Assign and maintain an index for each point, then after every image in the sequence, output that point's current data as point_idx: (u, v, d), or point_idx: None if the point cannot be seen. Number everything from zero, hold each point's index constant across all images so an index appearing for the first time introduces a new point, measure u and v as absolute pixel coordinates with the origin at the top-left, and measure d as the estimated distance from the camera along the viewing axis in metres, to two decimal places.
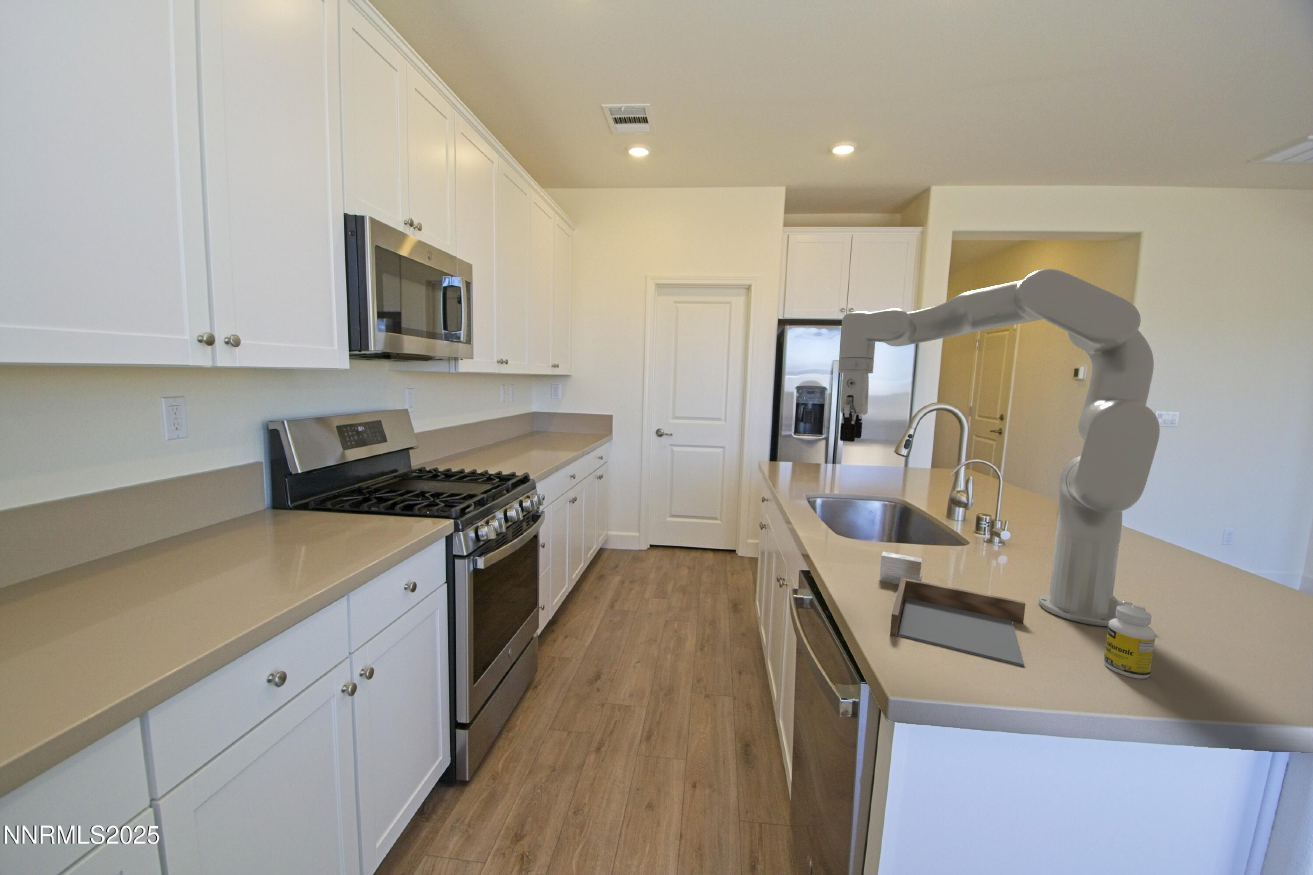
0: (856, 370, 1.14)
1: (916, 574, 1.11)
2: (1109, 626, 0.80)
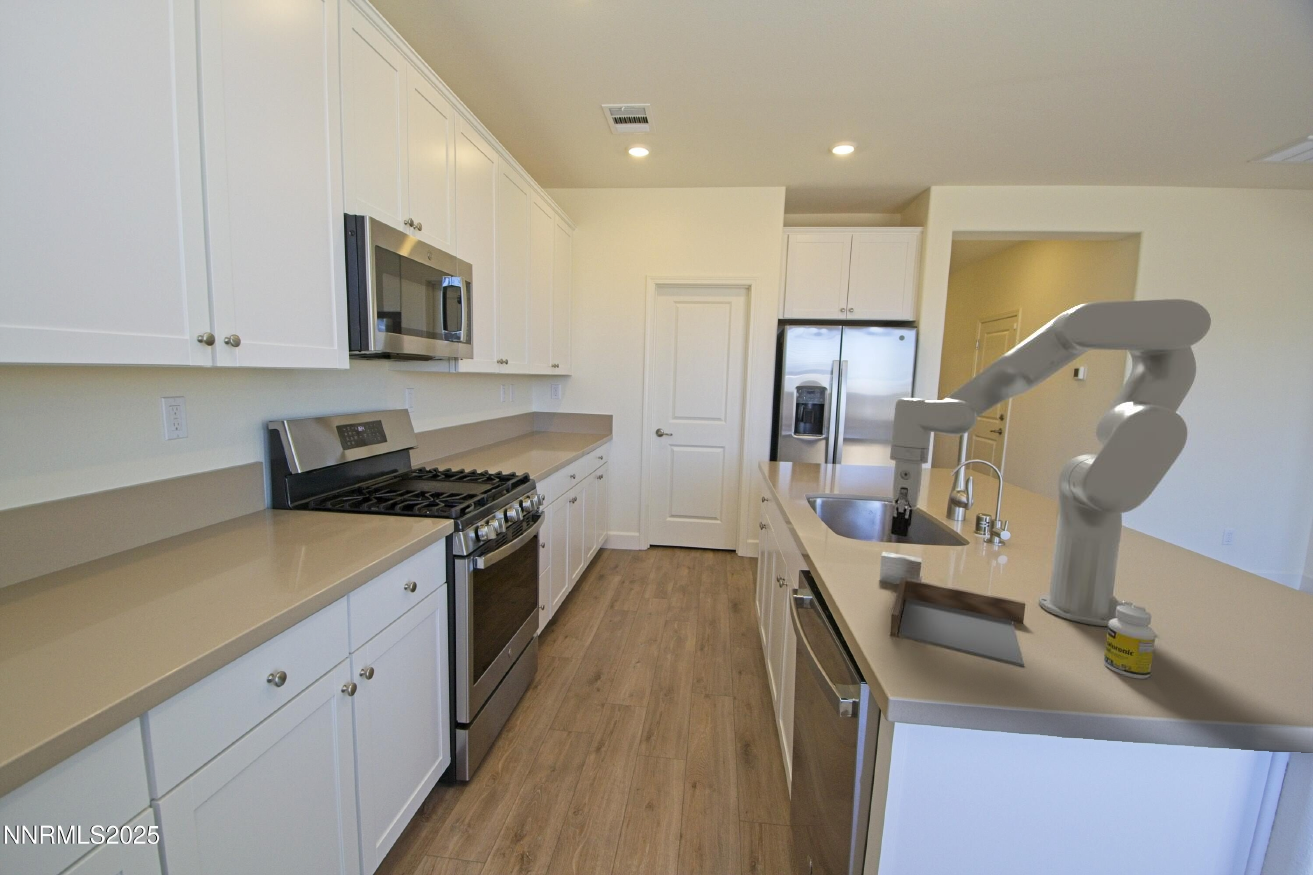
0: (911, 461, 1.07)
1: (916, 574, 1.11)
2: (1109, 626, 0.80)
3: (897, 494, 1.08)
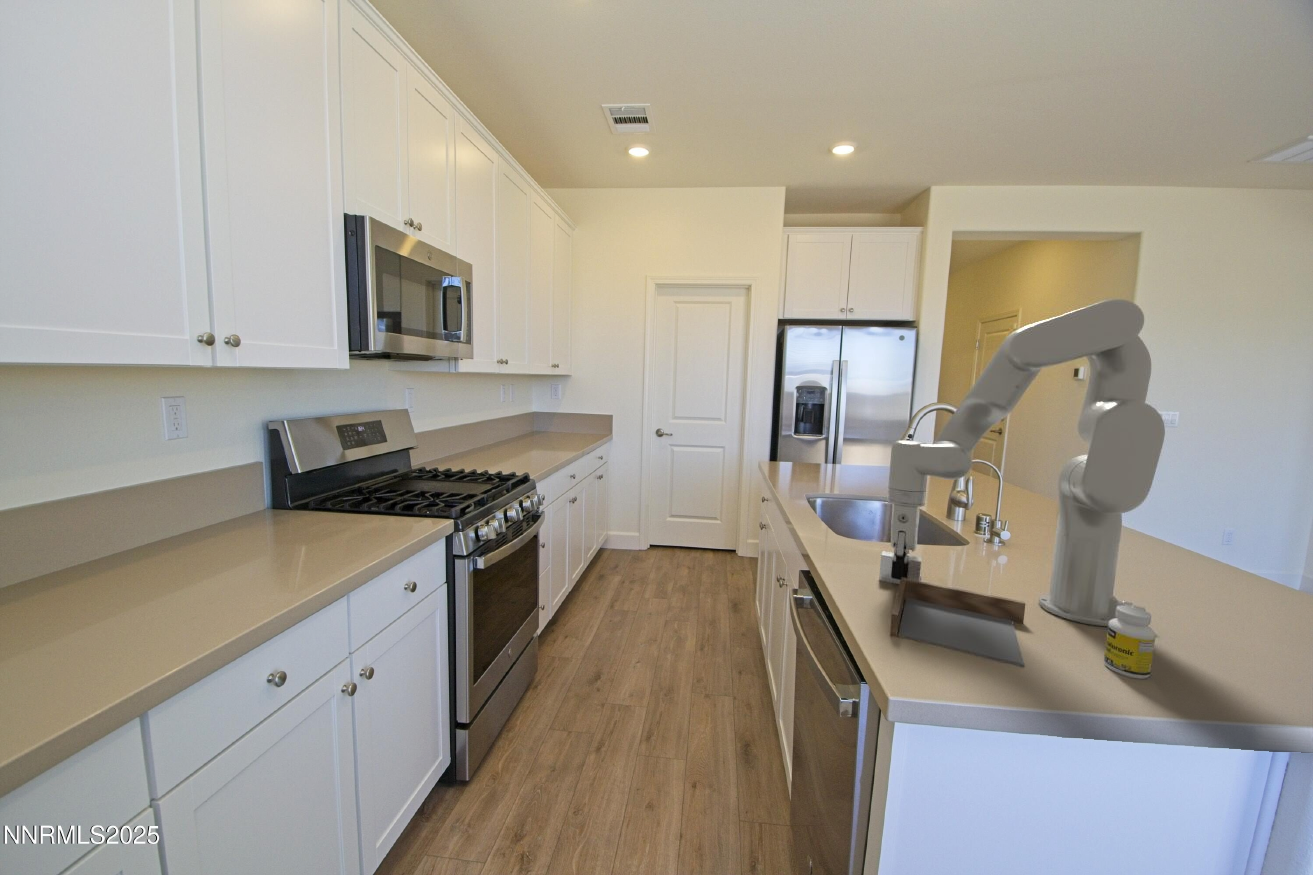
0: (908, 504, 1.08)
1: (915, 574, 1.11)
2: (1109, 626, 0.80)
3: (895, 537, 1.09)
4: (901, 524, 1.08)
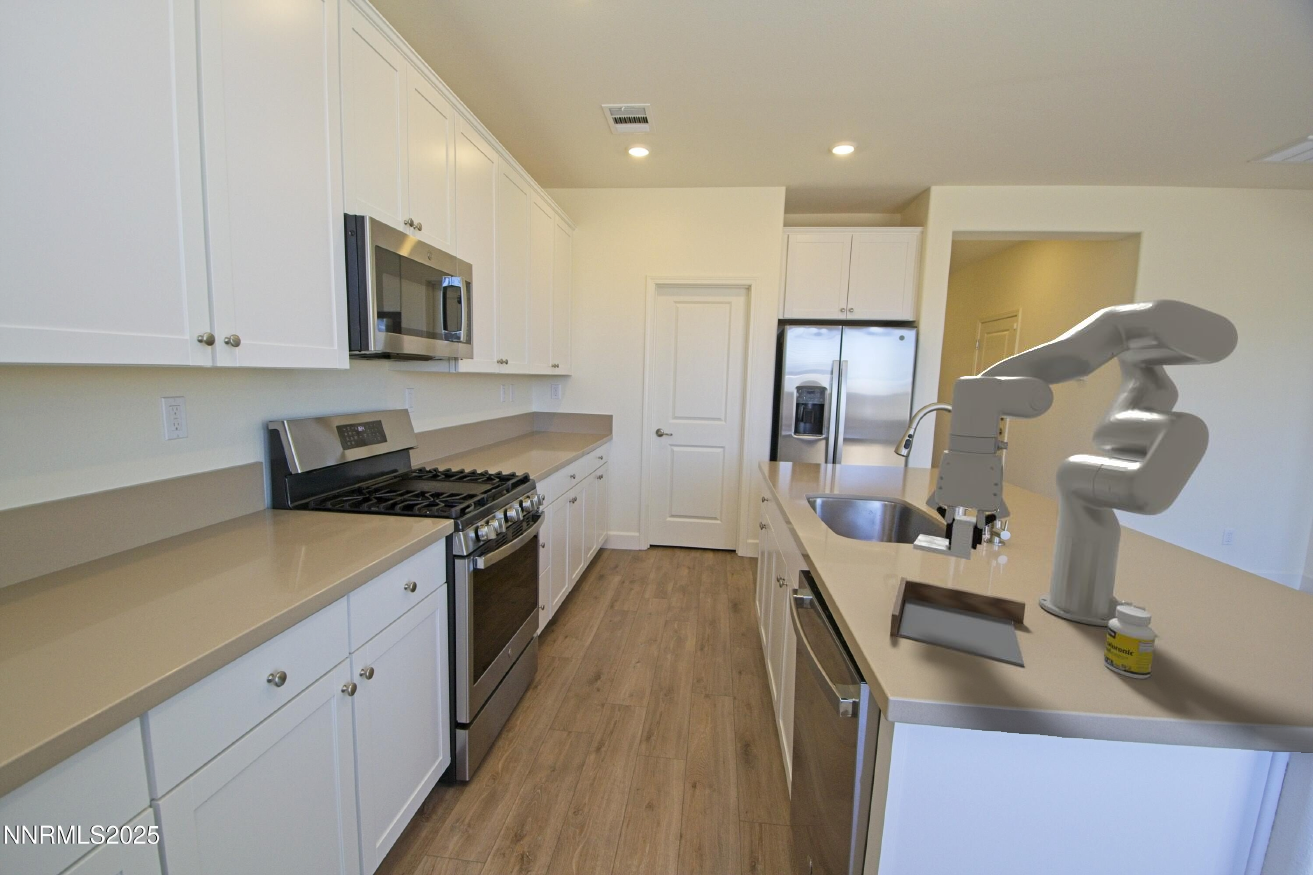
0: None
1: None
2: (1109, 626, 0.80)
3: (1001, 496, 0.87)
4: (1002, 478, 0.88)
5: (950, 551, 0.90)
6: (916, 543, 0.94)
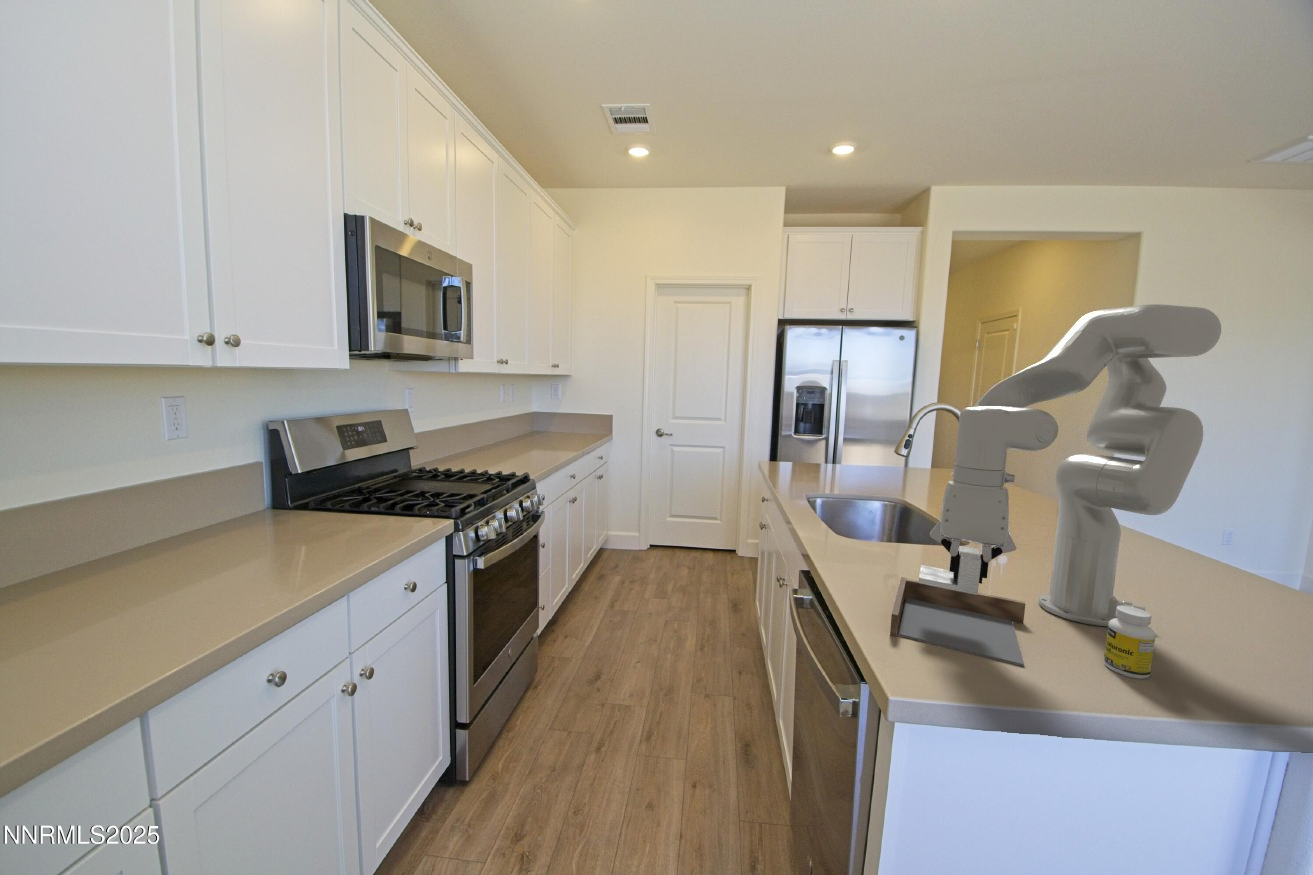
0: None
1: None
2: (1109, 626, 0.80)
3: None
4: None
5: (957, 586, 0.88)
6: (921, 577, 0.91)
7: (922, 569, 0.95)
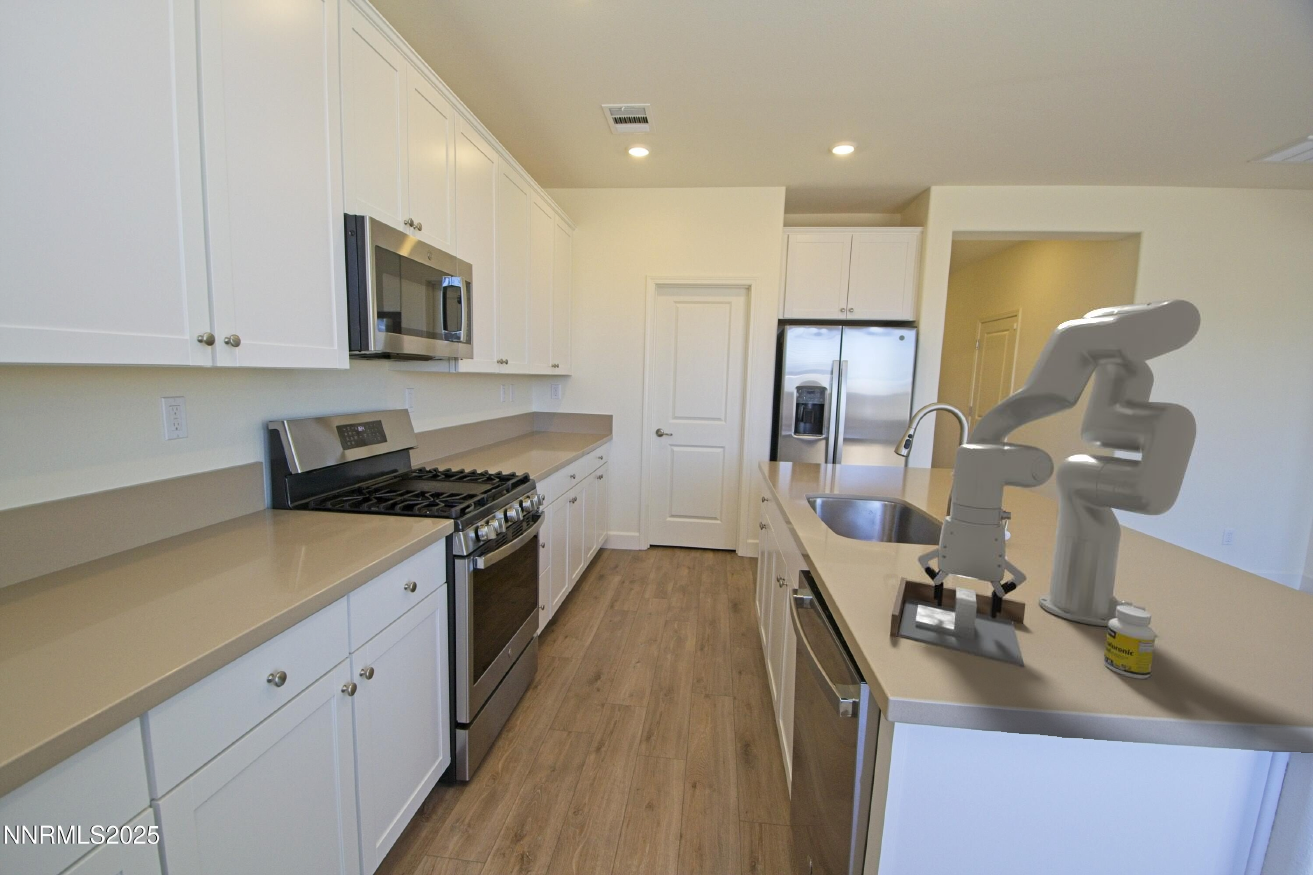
0: None
1: None
2: (1109, 626, 0.80)
3: (1004, 567, 0.87)
4: (1005, 548, 0.87)
5: (953, 630, 0.89)
6: (918, 619, 0.92)
7: (919, 610, 0.96)
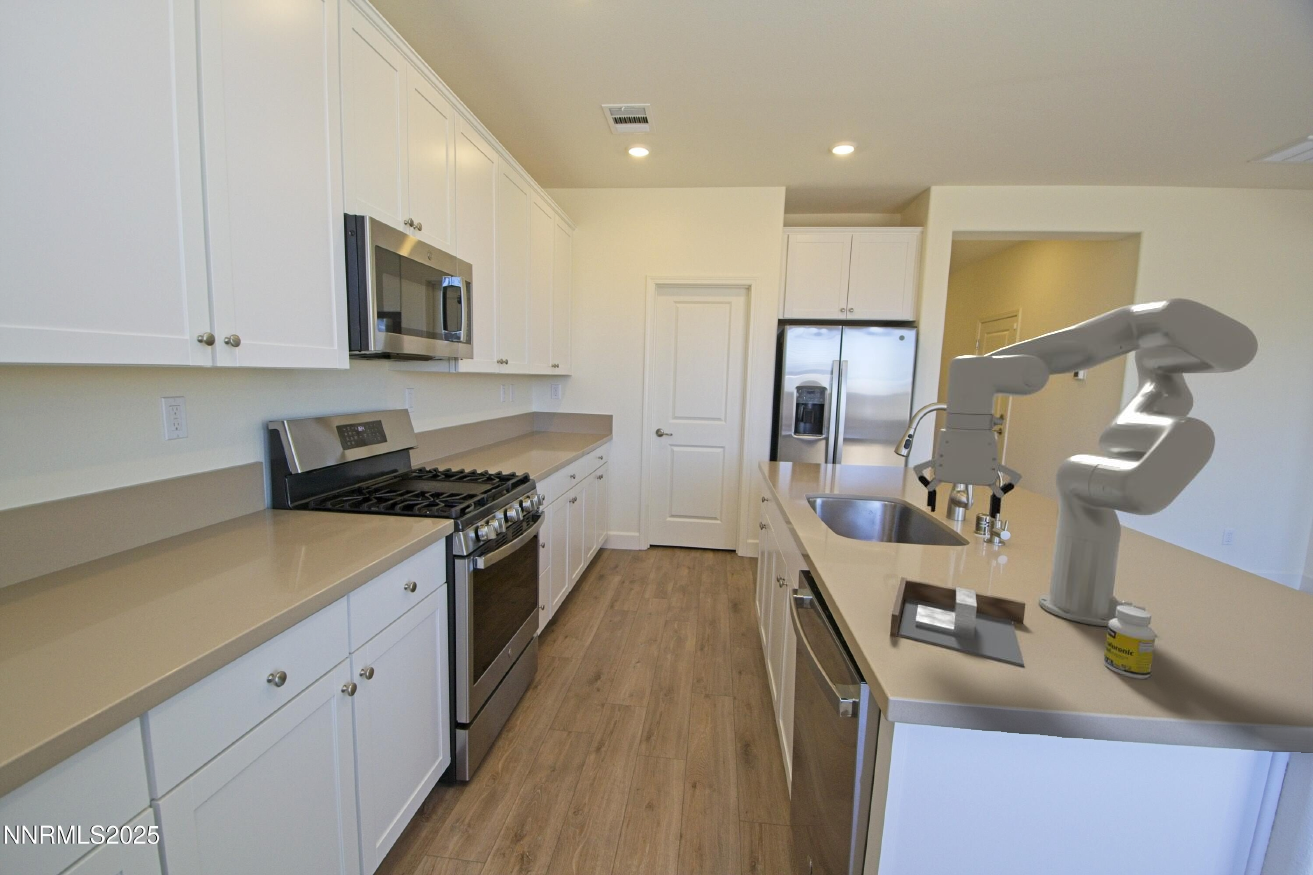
0: None
1: None
2: (1109, 626, 0.80)
3: (998, 470, 0.91)
4: (998, 453, 0.91)
5: (953, 630, 0.89)
6: (918, 619, 0.92)
7: (919, 610, 0.96)
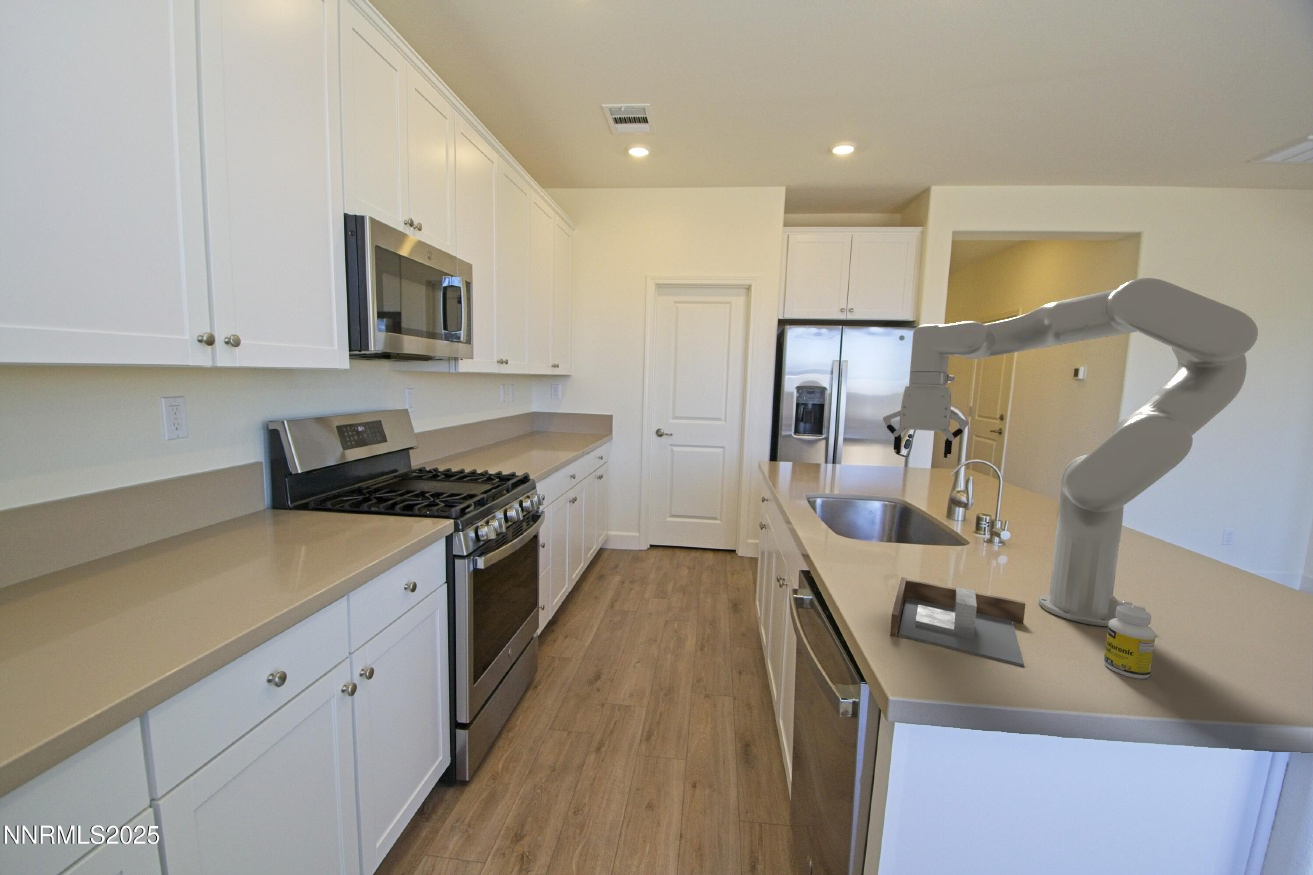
0: None
1: None
2: (1109, 626, 0.80)
3: (950, 418, 1.12)
4: (950, 404, 1.12)
5: (953, 630, 0.89)
6: (918, 619, 0.92)
7: (919, 610, 0.96)
